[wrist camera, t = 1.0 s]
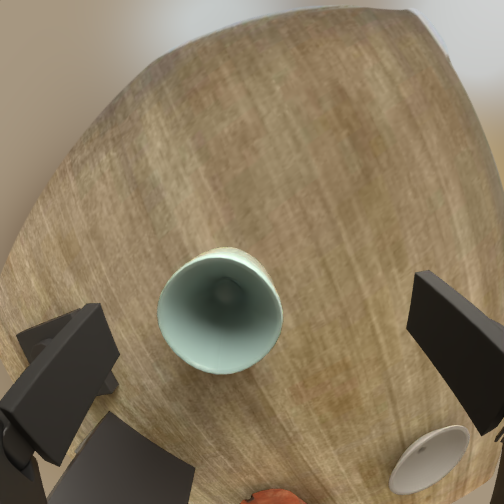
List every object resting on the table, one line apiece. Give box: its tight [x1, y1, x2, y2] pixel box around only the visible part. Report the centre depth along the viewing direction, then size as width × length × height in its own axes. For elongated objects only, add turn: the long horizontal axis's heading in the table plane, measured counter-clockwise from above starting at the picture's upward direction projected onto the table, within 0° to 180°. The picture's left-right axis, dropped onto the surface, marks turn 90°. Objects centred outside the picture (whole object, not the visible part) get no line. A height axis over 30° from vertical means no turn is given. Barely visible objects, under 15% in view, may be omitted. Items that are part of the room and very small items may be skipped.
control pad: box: [16, 308, 119, 396], centre depth 25 cm, size 10×12×4 cm
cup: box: [157, 247, 283, 374], centre depth 21 cm, size 8×8×10 cm
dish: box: [389, 425, 470, 495], centre depth 27 cm, size 18×14×5 cm
